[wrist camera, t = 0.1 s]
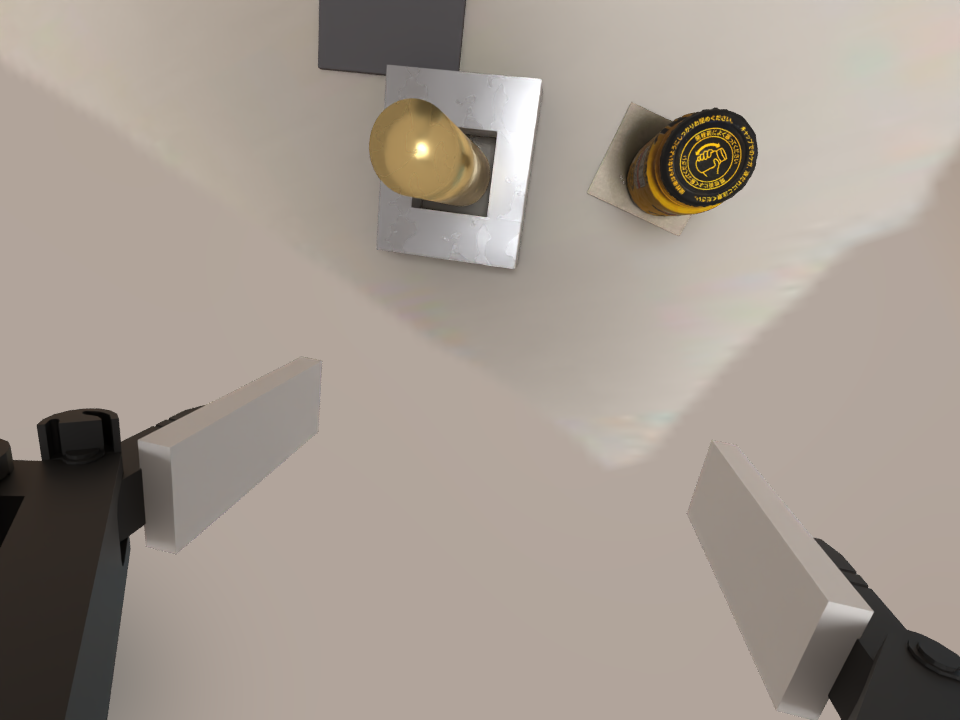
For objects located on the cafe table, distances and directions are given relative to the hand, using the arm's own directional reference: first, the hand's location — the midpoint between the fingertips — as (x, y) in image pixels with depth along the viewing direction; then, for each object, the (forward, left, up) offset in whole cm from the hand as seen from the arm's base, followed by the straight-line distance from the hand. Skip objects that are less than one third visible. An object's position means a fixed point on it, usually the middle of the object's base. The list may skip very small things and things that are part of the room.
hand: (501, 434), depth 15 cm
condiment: (-12, +8, -28) cm, 32 cm away
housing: (-10, -8, -28) cm, 31 cm away
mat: (-23, -15, -28) cm, 39 cm away
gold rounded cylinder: (-10, -8, -28) cm, 31 cm away
